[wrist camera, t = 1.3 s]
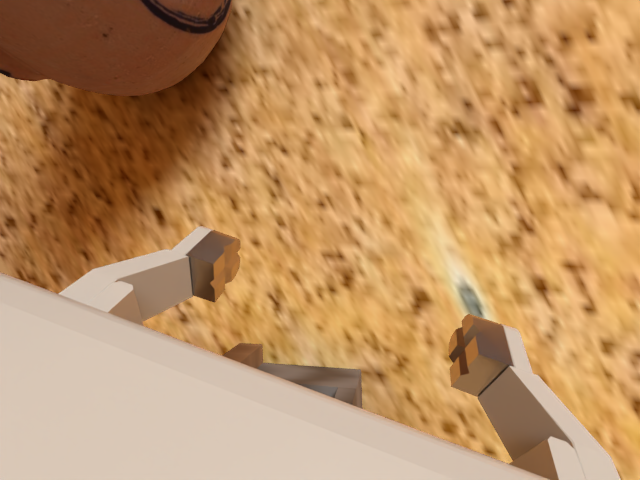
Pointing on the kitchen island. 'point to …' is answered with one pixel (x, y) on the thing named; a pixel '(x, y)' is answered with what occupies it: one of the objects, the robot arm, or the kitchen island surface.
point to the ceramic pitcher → (109, 41)
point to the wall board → (305, 374)
